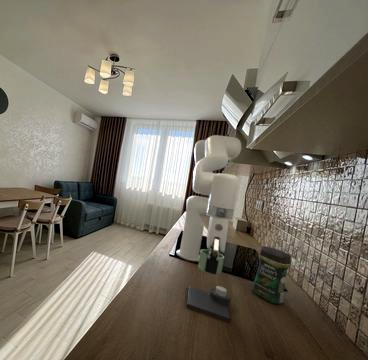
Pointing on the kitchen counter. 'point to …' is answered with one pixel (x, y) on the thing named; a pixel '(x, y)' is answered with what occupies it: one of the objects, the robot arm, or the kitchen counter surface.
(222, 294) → the power button
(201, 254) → the green cup
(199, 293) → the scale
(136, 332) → the kitchen counter surface
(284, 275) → the coffee jar
